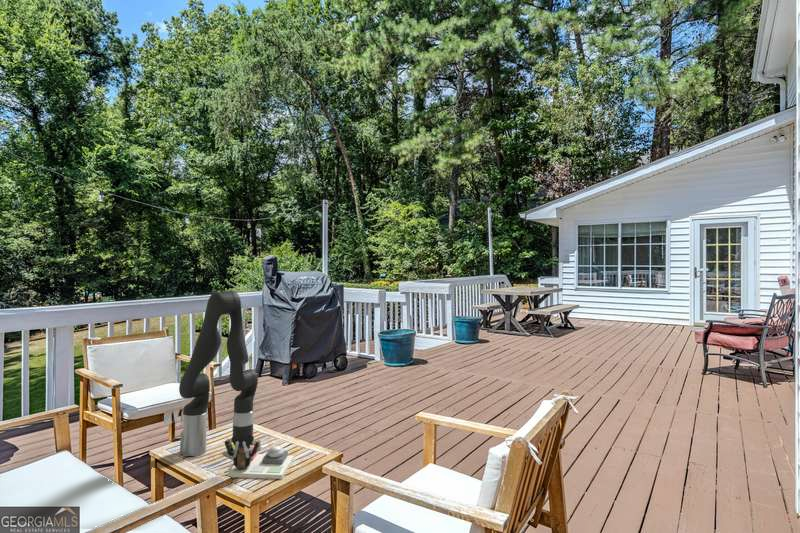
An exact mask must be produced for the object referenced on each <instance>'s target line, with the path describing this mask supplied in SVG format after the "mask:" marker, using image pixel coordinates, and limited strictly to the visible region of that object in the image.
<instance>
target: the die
mask: <svg viewBox="0 0 800 533" xmlns="http://www.w3.org/2000/svg"><path fill="white" fill-rule="evenodd" d="M250 446H251V452H252V451H253V448H254V446H253V445H250ZM257 452H258V451H257ZM257 452H256V454H255V455H254V456H253V457H251V461H253V460H254V458H255V457H256V455H257V454H258V453H257Z"/></svg>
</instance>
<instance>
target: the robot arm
mask: <svg viewBox="0 0 800 533" xmlns="http://www.w3.org/2000/svg"><path fill="white" fill-rule="evenodd" d="M207 300H208V301H207V304H206V308H205V313H204V318H203V322H202V324H201V328H200V332H199V334H198V337H197V339H196V342H195V345H194V348H193V351H192V353H191V354H192V355H191V356H190V360H189V361H188V362H189V363H188V364H187V367H186V369H185V370H184V373H183V375H182V377H181V379H180V382H179V386H178V391H179V394H180V396H181V398H183V399H192V398H193V399H192V400H191V401H189V402H188V403H187V404H186V405H184V407H183V410H182V431H180V438H179V439H180V440H179V441H180V442H179V446H180V448H179V455H180V454H183V455H185V456H195V457H199V456H202V455H203V454H205V453H206V451H207V431H208V430H207V426H208V425H207V423H208V422H207V421H208V420H207V419H208V407H209V403H210V401H209V400H210V391H211V390H210V389H211V382H210V377H209V376H208V374H206V373H203V371H204V369H205V368H206V367H208V365H210V364H211V363H212V361H214V360H215V358H216V357H217V355H218V353H219V351H220V350H219V349H220V348H221V345H222V344H221V343H222V336H221V333H220V331H219V328H218V325H219V322H220V318H221V317H222V315H223V316H224V315H229V319H230V328H229V332H228V337H227V340H226V350H227V351H226V352H227V355H228V359H229V384H230V386H231V388H232V389H233V390H234V391H236V392H240V393H239V394H238V395H236V396H235V398H234V400H233V401H234V402H233V416H232V437H231V438H228V439H226V440H225V441H224V445H225V449H226V451H228V454H229V456H233V457H234V460H233V464H232V465H233V466H234V465H235V467H237V453H238V448H240V447H243V448H244V452H245V454H246V460H245V467H248V466H249V465H250V463H251V457H253V456H254V455H255V454H256V452H258V451H257V449H258V447H259V444H260V443H261V440H260V439H255V437H254V421H255V420H254V398H255V395H256V392H257V388H258V383H259V378H258V377H259V376H258V374H257V372H256V371H255V370H254V369H250V368H249V369H246V370H244V366H245V365H246V364H247V363H249V352H248V350H247V349H248V348H247V344H246V339H245V333H244V324H243V323H244V321H243V310H242V301H241V297H240V295H239V293H238V292H237V291H235V290H223V291H216V292H213V293H212V294H211V295H210V296H209V298H208V299H207ZM252 442H253V446H254V448H253V451H252V452H251V446H250V445H251V443H252ZM232 444H234V445H235V449H234V450H233V447H232ZM183 455H182V456H183ZM185 456H184V457H185Z"/></svg>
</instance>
